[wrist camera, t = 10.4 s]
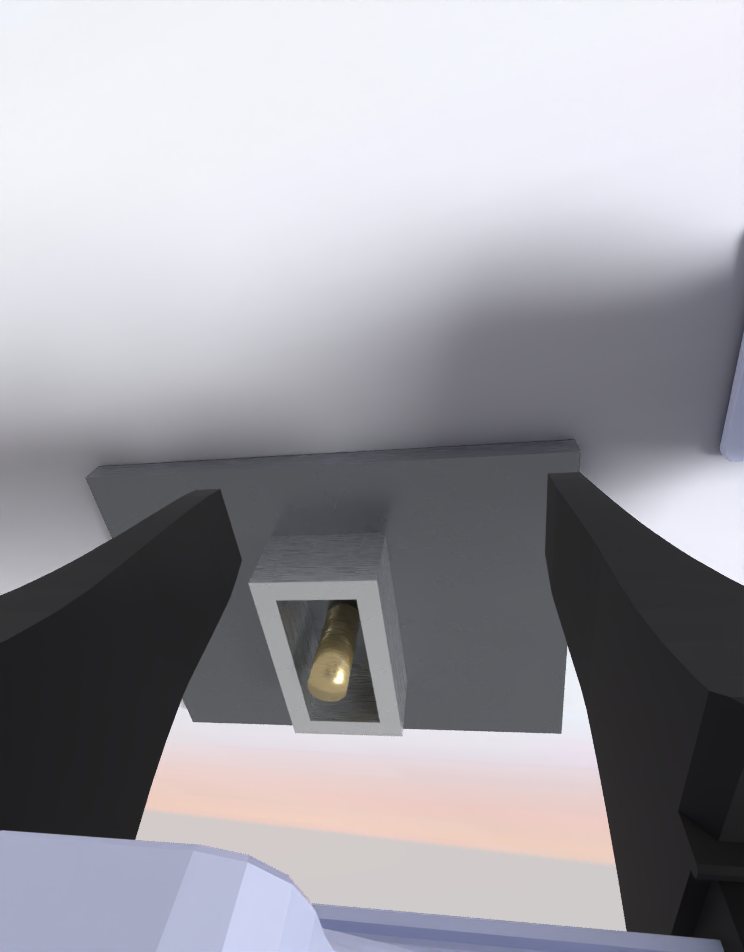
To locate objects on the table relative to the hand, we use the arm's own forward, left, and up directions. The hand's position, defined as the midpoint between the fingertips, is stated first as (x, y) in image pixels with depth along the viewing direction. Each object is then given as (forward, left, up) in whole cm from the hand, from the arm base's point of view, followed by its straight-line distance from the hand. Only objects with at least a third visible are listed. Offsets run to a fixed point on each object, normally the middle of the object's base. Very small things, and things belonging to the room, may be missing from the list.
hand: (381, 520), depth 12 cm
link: (+4, +11, -8) cm, 14 cm away
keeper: (+4, +11, -9) cm, 15 cm away
